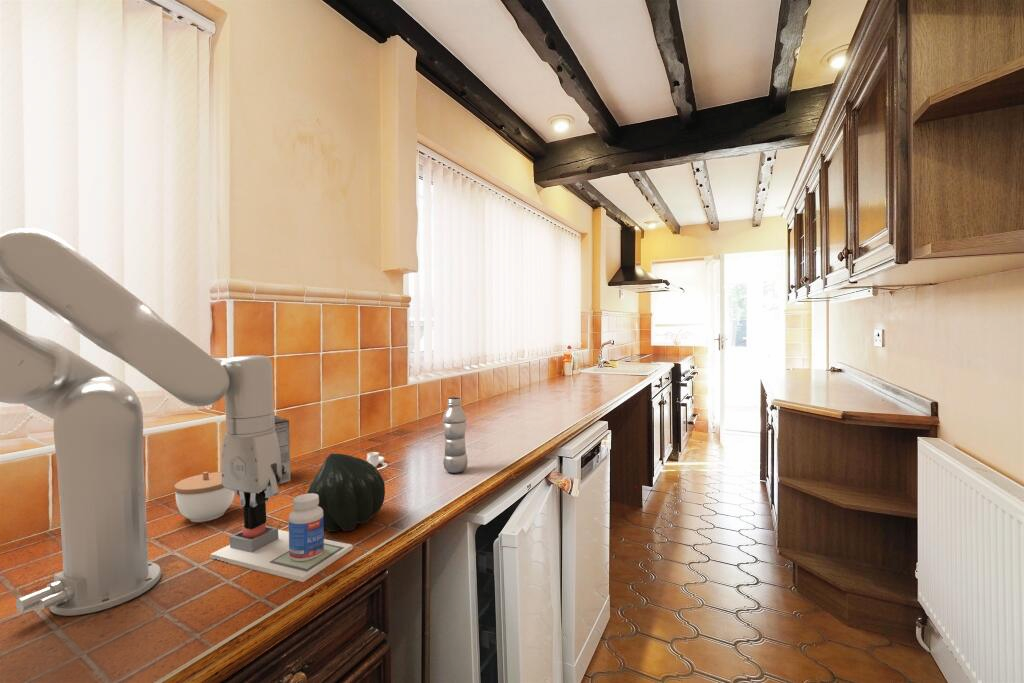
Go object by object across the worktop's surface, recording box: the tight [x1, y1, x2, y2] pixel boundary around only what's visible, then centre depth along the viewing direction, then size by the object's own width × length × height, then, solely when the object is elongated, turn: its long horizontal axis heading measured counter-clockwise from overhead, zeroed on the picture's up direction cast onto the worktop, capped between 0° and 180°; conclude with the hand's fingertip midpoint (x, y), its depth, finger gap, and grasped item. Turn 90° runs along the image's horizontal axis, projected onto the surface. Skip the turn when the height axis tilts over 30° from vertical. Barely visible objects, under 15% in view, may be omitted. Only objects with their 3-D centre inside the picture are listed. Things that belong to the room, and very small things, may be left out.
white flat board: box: [210, 525, 354, 583], centre depth 79 cm, size 11×21×3 cm, turn 68°
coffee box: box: [274, 415, 291, 485], centre depth 117 cm, size 9×6×16 cm
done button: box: [241, 523, 267, 539], centre depth 82 cm, size 4×4×2 cm
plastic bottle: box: [442, 396, 469, 474], centre depth 122 cm, size 6×7×20 cm
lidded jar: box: [173, 471, 236, 523], centre depth 96 cm, size 11×11×9 cm
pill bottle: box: [288, 493, 325, 561], centre depth 77 cm, size 6×5×10 cm
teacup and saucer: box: [366, 451, 388, 471], centre depth 129 cm, size 9×8×4 cm
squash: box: [306, 452, 386, 532], centre depth 91 cm, size 14×15×15 cm
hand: (255, 525), depth 82 cm, fingers closed
